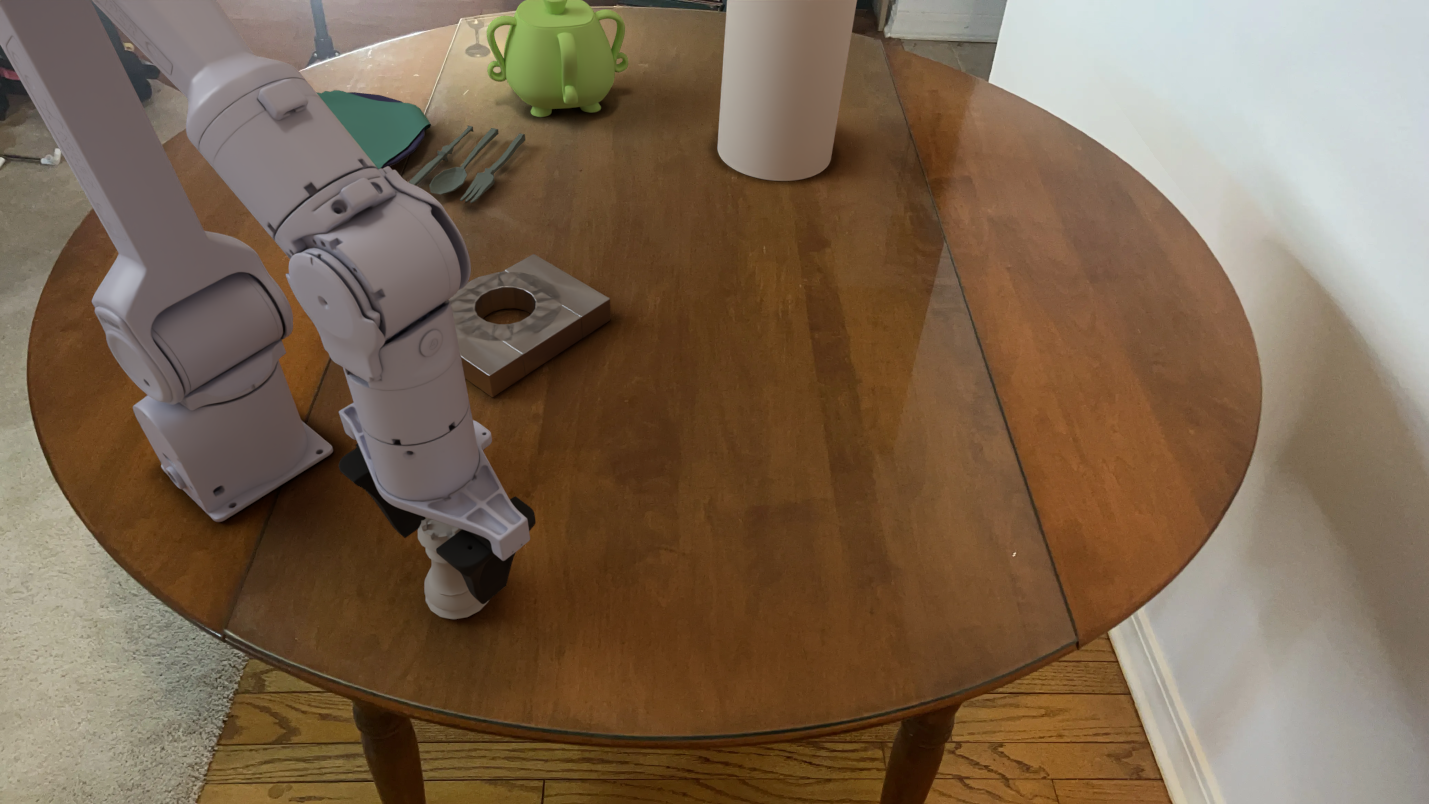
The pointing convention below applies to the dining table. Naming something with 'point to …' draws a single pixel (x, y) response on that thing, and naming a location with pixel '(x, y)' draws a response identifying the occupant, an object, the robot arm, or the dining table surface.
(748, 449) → the dining table surface
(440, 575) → the rook chess piece
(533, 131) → the dining table surface
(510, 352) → the stand
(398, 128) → the cutlery set
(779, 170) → the canister
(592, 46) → the teapot
